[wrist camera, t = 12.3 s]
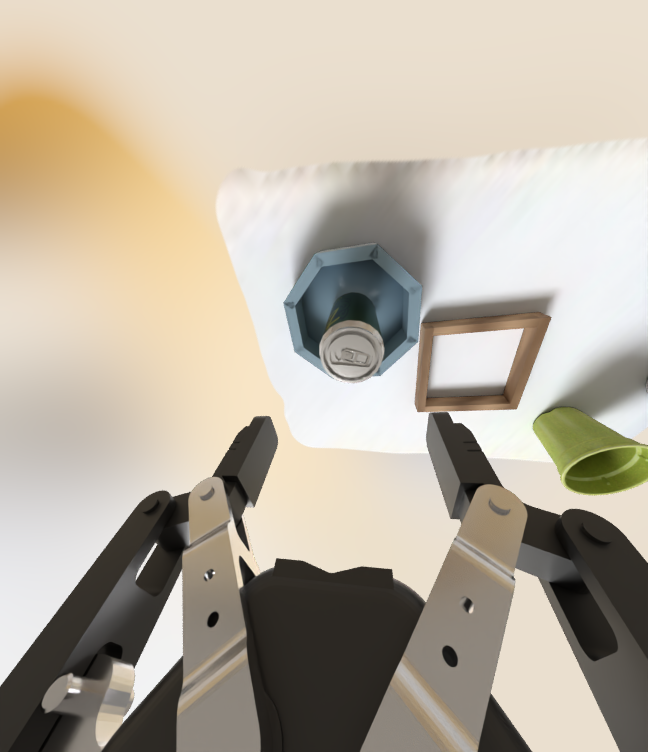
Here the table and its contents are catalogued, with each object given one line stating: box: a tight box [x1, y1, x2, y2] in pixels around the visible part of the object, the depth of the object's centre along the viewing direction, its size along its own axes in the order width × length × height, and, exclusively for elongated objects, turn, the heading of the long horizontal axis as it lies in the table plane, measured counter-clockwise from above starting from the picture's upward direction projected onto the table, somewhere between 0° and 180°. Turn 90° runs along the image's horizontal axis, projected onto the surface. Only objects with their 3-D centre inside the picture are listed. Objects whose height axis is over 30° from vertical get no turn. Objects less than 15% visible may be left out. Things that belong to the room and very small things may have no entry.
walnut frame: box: [415, 312, 551, 412], centre depth 30 cm, size 13×13×2 cm
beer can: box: [319, 292, 385, 383], centre depth 23 cm, size 5×5×12 cm
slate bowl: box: [284, 242, 422, 379], centre depth 27 cm, size 14×14×4 cm
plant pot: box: [533, 407, 648, 495], centre depth 31 cm, size 9×9×9 cm
